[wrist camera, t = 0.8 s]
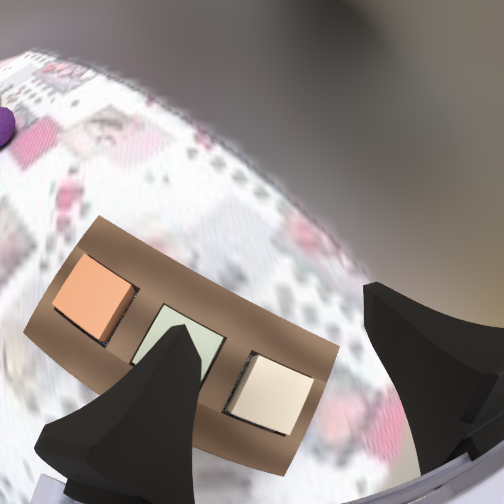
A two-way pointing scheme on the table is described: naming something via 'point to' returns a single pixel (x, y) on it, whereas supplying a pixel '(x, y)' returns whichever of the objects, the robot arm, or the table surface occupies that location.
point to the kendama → (6, 125)
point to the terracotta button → (94, 298)
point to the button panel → (203, 313)
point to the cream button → (270, 395)
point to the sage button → (201, 336)
